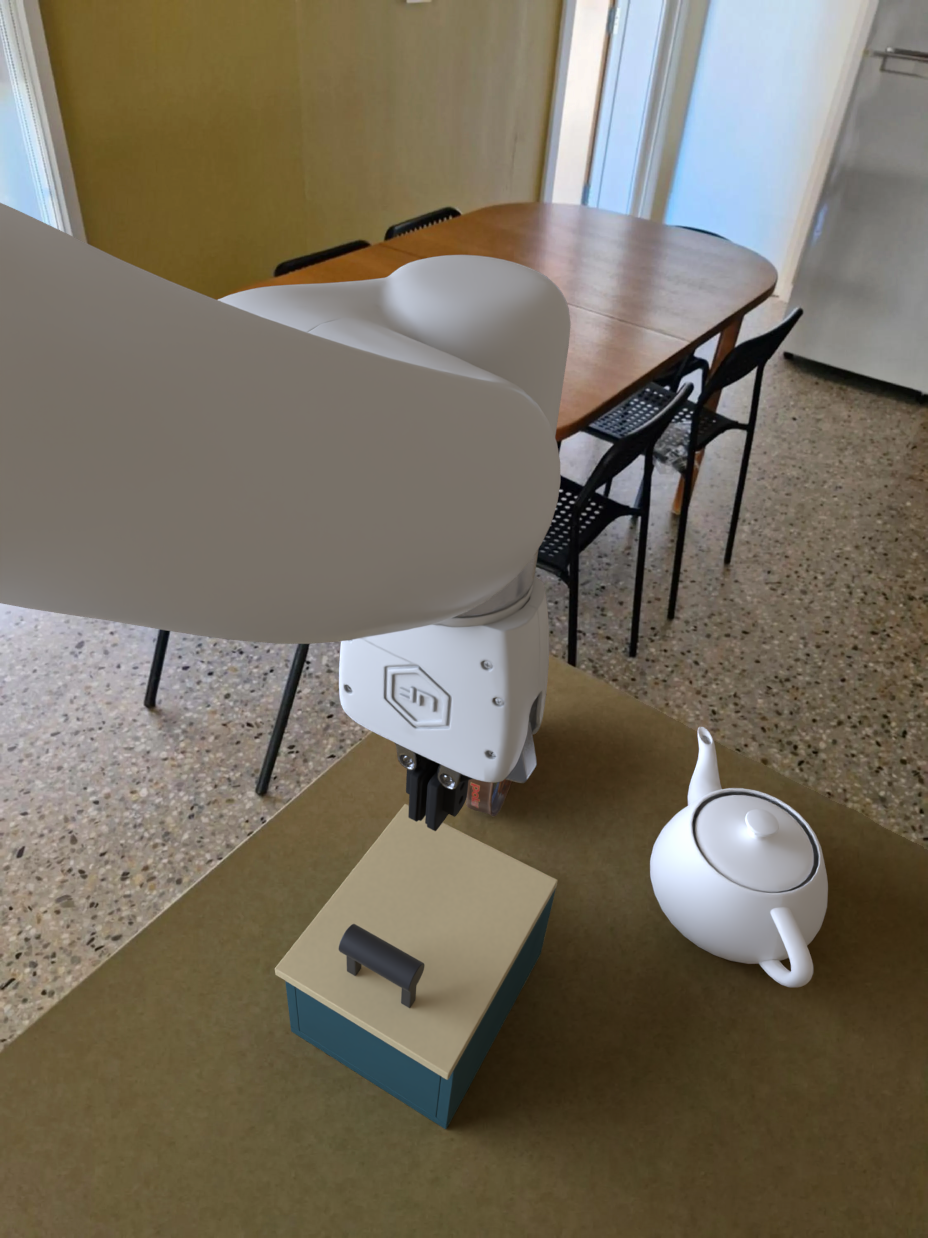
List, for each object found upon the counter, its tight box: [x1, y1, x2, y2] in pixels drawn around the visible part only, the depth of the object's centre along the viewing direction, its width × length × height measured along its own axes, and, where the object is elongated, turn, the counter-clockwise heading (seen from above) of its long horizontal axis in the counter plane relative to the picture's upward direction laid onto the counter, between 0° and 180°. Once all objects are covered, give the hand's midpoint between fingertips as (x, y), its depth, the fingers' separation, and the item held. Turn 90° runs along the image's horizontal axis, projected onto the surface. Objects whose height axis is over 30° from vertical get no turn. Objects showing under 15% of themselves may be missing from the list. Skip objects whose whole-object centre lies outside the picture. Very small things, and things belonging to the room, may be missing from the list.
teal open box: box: [284, 887, 557, 1130], centre depth 62 cm, size 15×13×9 cm
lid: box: [274, 803, 558, 1080], centre depth 58 cm, size 15×13×5 cm
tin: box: [465, 779, 513, 817], centre depth 80 cm, size 15×3×8 cm, turn 161°
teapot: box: [649, 726, 829, 988], centre depth 70 cm, size 22×14×11 cm, turn 8°
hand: (435, 807), depth 52 cm, fingers closed
